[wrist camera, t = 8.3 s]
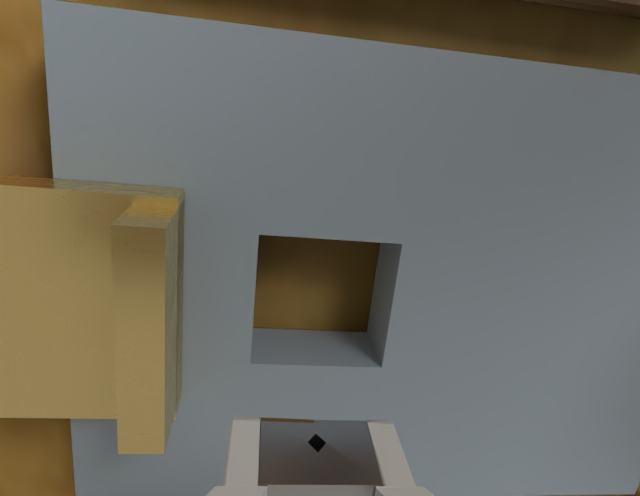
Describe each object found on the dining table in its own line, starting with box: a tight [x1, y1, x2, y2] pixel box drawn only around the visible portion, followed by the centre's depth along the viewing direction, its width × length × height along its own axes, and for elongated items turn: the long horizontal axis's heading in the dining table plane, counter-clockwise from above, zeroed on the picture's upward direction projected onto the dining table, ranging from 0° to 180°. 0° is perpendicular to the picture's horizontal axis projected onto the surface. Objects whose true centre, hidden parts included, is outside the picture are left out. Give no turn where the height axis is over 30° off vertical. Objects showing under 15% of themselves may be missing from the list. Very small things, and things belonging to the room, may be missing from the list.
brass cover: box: [0, 174, 185, 454], centre depth 13 cm, size 7×7×3 cm
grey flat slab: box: [41, 0, 640, 496], centre depth 17 cm, size 22×16×2 cm
